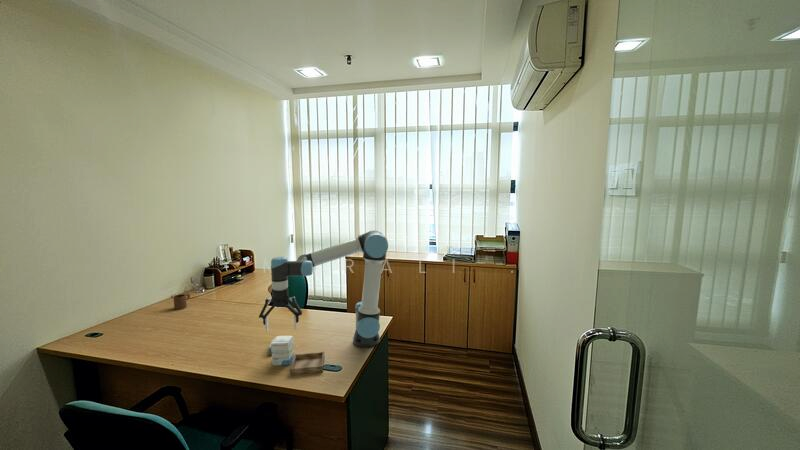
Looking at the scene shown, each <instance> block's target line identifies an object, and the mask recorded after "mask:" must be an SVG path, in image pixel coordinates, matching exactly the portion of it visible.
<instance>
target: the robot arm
mask: <svg viewBox="0 0 800 450" xmlns="http://www.w3.org/2000/svg"><path fill="white" fill-rule="evenodd" d="M388 249H389V242H388V238H387V237H386V236H385V235H384V234H383V233H382V232H381V231H378V230H370V231H367V232H364V233H362V234H360V235H357V236H356V237H355V238H354V239H350V240H347V241H344V242H341V243H338V244H334V245H332V246H329V247H326V248H322V249H319V250H316V251H313V252H311V253H307V254H306V253H305V254H301V255H299V256H298V257H297V259H296V260H292V261H291V260H288V258H287V257H286V256H275V257H273V258H272V259H271V260H270V274H271V288H272V290H271V298H270V297H266V298H265V301H264V305H263V307H262V309H261V311H260V314H259V315H258V318H259V319H262V322H263V323H262V324H263V325H264V326H265V332H266V333H267V332H268V331H269V329H270V328H269V315H270V313H271V312H272V311H273V309H275V307H276V308H284V307H285V308H286V309H288V310H289V311H290V312H291V313H292V314H293V315H294V316H293V322H294V325H293V326H294V329H293V330H295V331H296V330H297V327H298V323H299V322H300V316H302V314H303V311H302V309H301V307H300V305H299V304H298V302H297V300H296V296H292V297H290V296H289V288H288V287H289V280H288V279H289V277H308V276H312V275H313V269H314V267H317V266H321V265H323V264H326V263H329V262H332V261H335V260H338V259H342V258H345V257H348V256H351V255H353V254H358V253H361V254H362V253H363V255H362V259H363V260H364V261H365V262H364V263H365V264H364V273H363V274H364V275H363V285H362V293H361V301H359V302H357V303H356V304H355V331H354V335H353V337H352V342H353V344H354V346H356V347H358V348H371V347H374V346H377V345H378V344H379V343H380V340H381V338H380V334H379V332H380V328H381V325H380V323H381V322H380V317H381V315H380V314H381V309H380V308H379V307H378V306H379V295H380V287H381V277H382V268H383V263H384V262H385V261H386V257H387V252H388ZM270 303H272V305H271V307H269V309H268V310H267V311H266V308H267V307H268V305H269V304H270ZM290 303H292V305H293V306H294V307H293V306H292V305H291V304H290ZM265 311H266V313H265Z"/></svg>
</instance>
